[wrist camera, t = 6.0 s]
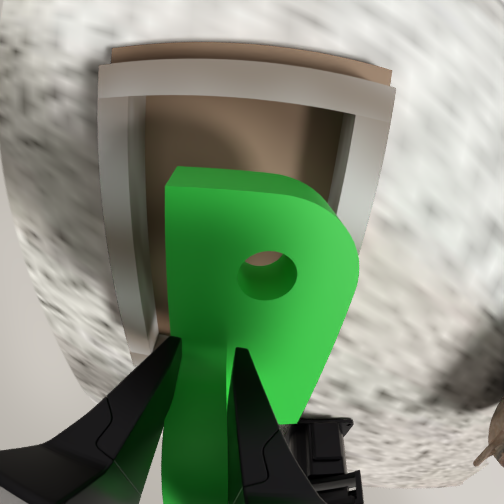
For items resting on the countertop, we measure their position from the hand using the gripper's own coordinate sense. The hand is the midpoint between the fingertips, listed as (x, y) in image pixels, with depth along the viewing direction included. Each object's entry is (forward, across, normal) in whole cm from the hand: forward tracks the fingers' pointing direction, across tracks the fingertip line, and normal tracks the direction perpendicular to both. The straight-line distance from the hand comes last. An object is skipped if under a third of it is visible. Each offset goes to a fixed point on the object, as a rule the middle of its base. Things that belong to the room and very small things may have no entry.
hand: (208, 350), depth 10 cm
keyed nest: (+8, 0, 0) cm, 8 cm away
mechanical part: (+3, -1, +1) cm, 3 cm away
